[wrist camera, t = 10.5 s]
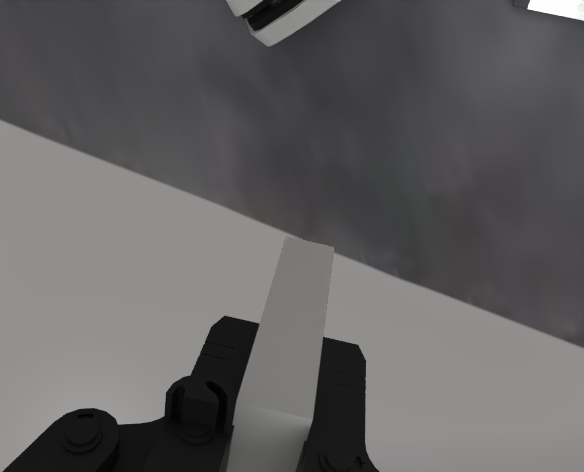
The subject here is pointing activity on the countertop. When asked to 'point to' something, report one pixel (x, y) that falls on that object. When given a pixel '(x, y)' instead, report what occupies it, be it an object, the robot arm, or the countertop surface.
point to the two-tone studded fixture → (555, 7)
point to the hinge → (278, 16)
